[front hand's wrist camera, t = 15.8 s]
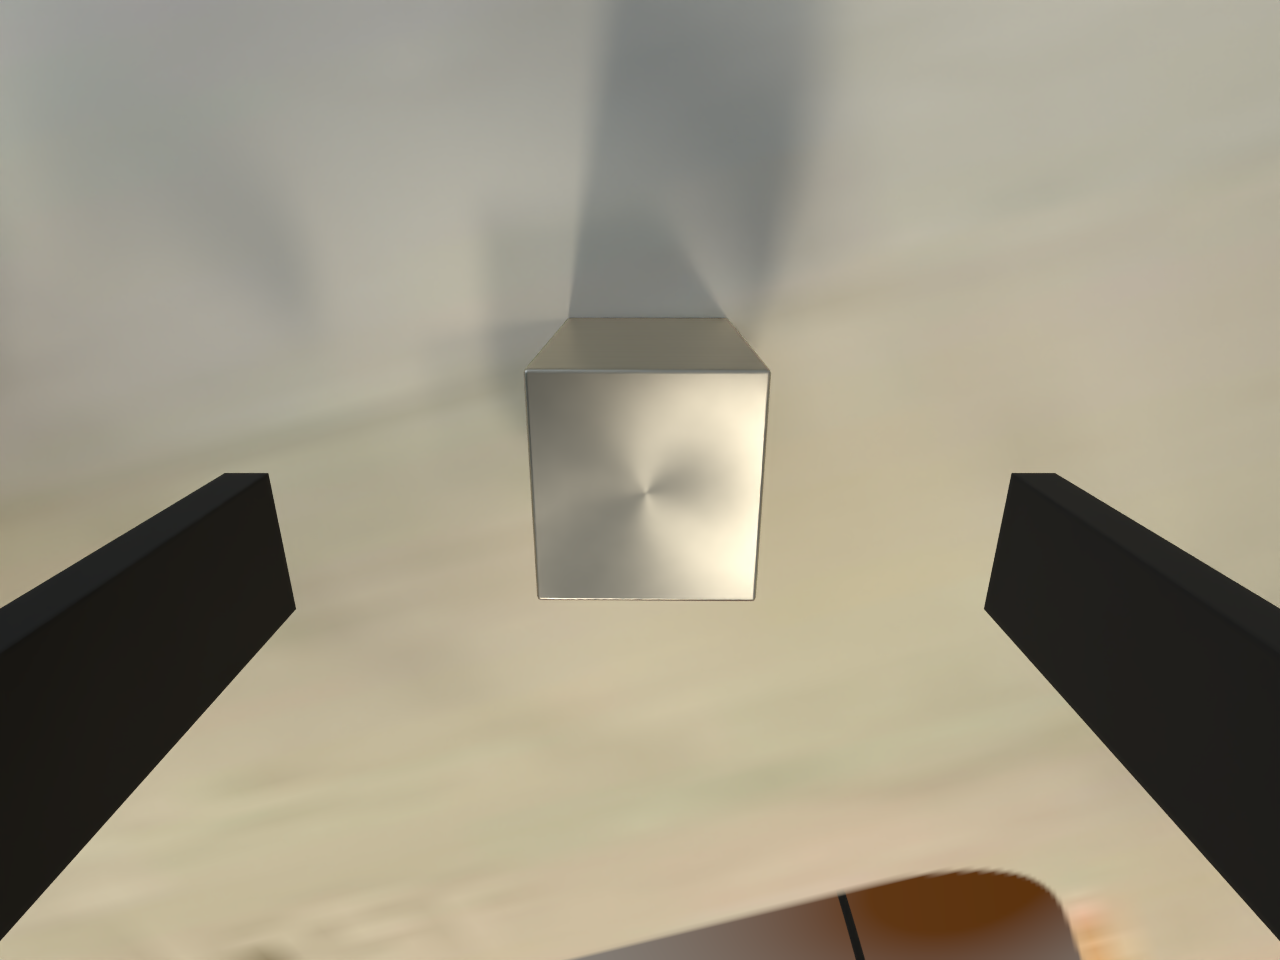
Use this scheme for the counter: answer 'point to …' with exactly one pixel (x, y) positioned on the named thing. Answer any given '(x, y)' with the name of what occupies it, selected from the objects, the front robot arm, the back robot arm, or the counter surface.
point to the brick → (647, 460)
